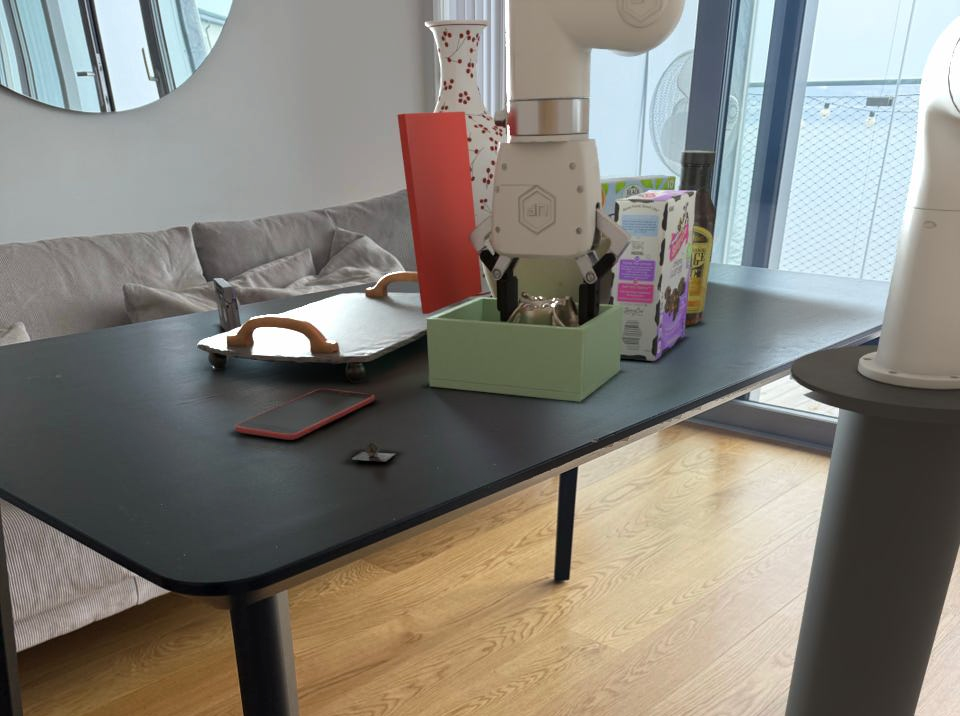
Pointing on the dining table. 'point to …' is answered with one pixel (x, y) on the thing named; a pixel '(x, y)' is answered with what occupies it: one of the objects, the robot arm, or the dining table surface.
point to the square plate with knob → (372, 454)
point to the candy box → (653, 271)
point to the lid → (440, 206)
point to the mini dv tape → (226, 304)
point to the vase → (469, 110)
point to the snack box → (631, 188)
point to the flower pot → (553, 276)
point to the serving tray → (330, 330)
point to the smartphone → (304, 414)
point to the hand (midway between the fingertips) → (547, 320)
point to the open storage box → (522, 352)
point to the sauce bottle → (698, 227)
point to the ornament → (546, 311)
